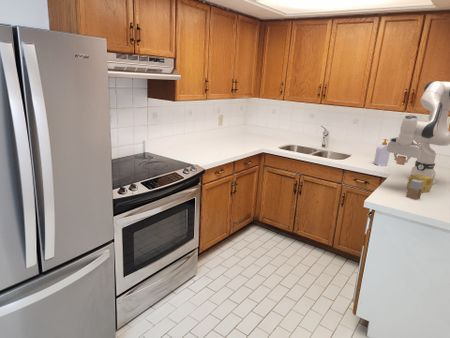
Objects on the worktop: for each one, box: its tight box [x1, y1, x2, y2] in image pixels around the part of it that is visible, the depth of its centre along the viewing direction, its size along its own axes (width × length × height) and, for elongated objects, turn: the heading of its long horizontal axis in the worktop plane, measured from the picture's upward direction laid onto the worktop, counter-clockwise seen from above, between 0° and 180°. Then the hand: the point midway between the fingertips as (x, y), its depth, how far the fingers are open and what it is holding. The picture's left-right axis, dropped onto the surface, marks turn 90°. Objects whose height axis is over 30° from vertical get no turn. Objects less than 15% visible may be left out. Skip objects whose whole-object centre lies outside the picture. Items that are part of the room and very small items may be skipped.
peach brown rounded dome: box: [395, 155, 407, 166], centre depth 212 cm, size 5×5×5 cm
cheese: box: [406, 174, 434, 194], centre depth 217 cm, size 10×11×10 cm
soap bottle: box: [373, 138, 391, 167], centre depth 277 cm, size 9×7×23 cm
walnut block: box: [405, 188, 422, 201], centre depth 201 cm, size 6×6×6 cm
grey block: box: [409, 179, 423, 190], centre depth 200 cm, size 5×5×5 cm
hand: (400, 161), depth 212 cm, fingers closed on peach brown rounded dome, 5 cm apart
